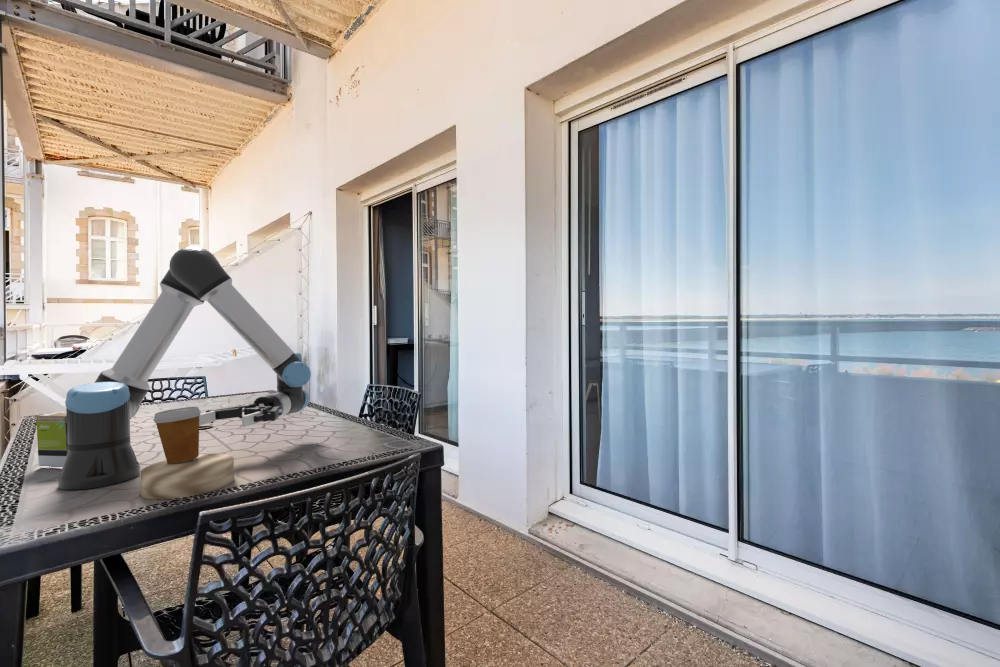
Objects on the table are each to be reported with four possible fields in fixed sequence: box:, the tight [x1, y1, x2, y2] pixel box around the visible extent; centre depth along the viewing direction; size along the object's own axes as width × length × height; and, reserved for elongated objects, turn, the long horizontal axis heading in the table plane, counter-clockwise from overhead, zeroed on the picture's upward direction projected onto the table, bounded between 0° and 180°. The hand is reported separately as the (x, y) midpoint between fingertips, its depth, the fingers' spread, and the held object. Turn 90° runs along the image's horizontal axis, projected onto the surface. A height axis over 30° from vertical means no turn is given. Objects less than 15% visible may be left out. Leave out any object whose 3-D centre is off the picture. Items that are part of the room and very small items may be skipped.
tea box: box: [35, 410, 68, 467], centre depth 130 cm, size 15×10×15 cm
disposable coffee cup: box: [152, 405, 202, 463], centre depth 110 cm, size 10×10×12 cm
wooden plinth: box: [139, 453, 235, 501], centre depth 107 cm, size 18×18×5 cm
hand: (218, 421), depth 117 cm, fingers open, 13 cm apart
